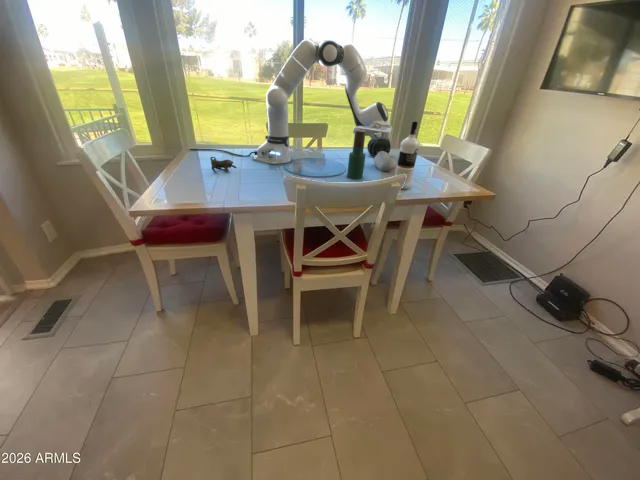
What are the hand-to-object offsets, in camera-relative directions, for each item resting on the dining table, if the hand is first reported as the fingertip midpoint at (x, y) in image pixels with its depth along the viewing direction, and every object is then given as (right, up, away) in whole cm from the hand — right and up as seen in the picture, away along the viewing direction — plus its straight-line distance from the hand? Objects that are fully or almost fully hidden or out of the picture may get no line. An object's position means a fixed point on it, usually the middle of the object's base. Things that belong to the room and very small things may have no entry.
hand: (367, 134), depth 140 cm
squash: (+14, +2, +41) cm, 44 cm away
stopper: (-5, -11, -3) cm, 13 cm away
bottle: (-6, -21, +3) cm, 22 cm away
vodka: (+16, -28, -5) cm, 33 cm away
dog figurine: (-74, -19, +1) cm, 76 cm away
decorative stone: (+13, -13, +18) cm, 26 cm away
